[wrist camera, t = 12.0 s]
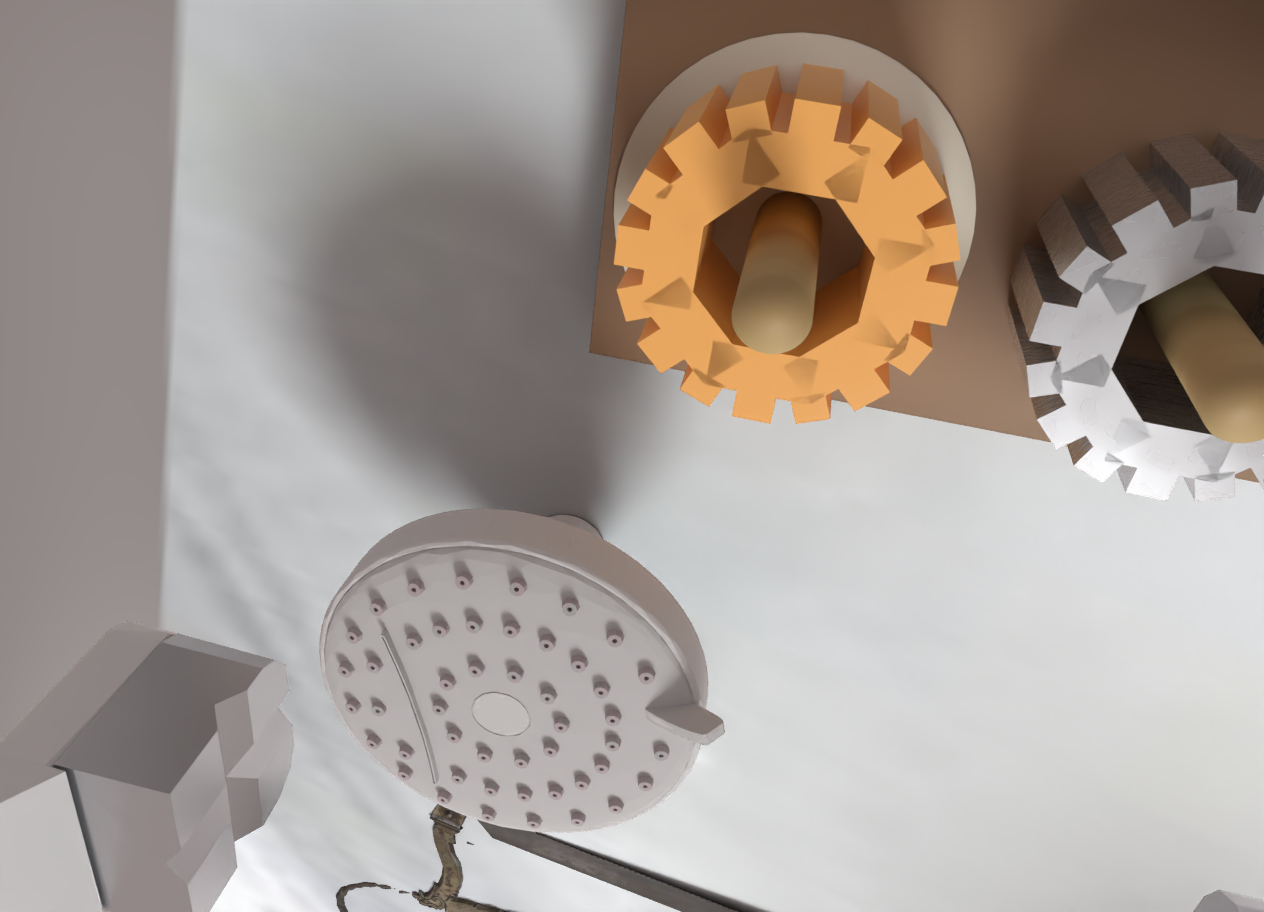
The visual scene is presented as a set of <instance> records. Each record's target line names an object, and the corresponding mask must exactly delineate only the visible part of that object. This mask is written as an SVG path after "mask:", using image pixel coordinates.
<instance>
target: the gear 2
mask: <svg viewBox="0 0 1264 912" xmlns="http://www.w3.org/2000/svg"><path fill="white" fill-rule="evenodd" d="M1149 143H1150V169H1148V170H1146V171H1145V172H1143V173H1141V174H1138V173H1137V172H1136V171H1135V169H1134V168H1133V167H1132V165H1131V164H1130V163H1129V161H1128V160H1127V159H1126V157H1125V156H1124V155H1123V154H1122V152H1120V153H1118V154H1117V155H1115V156H1113V157H1112V158H1110V159H1108V160H1106V161H1105V162H1103V163H1101V164H1100V165H1098V166H1096V167H1095V168H1093V169H1091V170H1089V171H1088V172H1086V173H1084V174H1083V175H1082V177H1083V179H1084V181H1085V182H1086V184H1087V186H1088V188H1089V189H1090V191H1091V193H1092V195H1093V196H1094V198H1095V200H1094V201H1092V202H1091V203H1089V204H1087V205H1085V206H1084V207H1082V208H1080V207H1079V206H1077V205H1076V204H1074V203H1073V202H1071V201H1070V200H1068V199H1067V198H1065V197H1064V196H1062V195H1061V194H1059V195H1058V197H1057V198H1056V199H1055V200H1054V201H1053V203H1052V204H1051V205H1050V206H1049V207H1048V208H1047V210H1046V211H1045V212H1044V213H1043V214H1042V215H1041V217H1040V218H1039V219H1038V220H1037V221H1036V224H1037V227H1038V229H1039V231H1040V234H1041V236H1042V239H1043V241H1044V243H1045V246H1046V248H1047V249H1045V248H1039V247H1033V246H1028V245H1022V247H1021V250H1020V253H1019V256H1018V259H1017V262H1016V264H1015V267H1014V270H1013V273H1012V276H1011V279H1010V282H1011V285H1012V288H1013V291H1014V294H1015V297H1016V300H1017V301H1016V302H1010V303H1008V309H1009V318H1010V328H1011V334H1012V338H1013V341H1014V345H1015V348H1016V352H1017V355H1018V359H1019V362H1020V365H1021V369H1022V372H1023V376H1024V379H1025V383H1026V386H1027V390H1028V393H1029V397H1030V398H1031V401H1032V404H1033V408H1034V411H1035V415H1036V418H1037V421H1038V422H1039V424H1040V425H1041V427H1042V428H1043V430H1044V431H1045V433H1046V434H1047V436H1048V437H1049V439H1050V440H1051V442H1052V443H1053V445H1054V447H1055V448H1056V449H1059V448H1061V447H1063V446H1065V445H1067V446H1068V449H1069V452H1070V455H1071V458H1072V461H1073V465H1074V466H1076V467H1077V468H1079V469H1080V470H1082V471H1084V472H1085V473H1087V474H1088V475H1090V476H1092V477H1093V478H1095V479H1096V480H1098V481H1100V482H1101V483H1103V482H1104V481H1105V480H1106V479H1107V478H1108V477H1109V476H1110V475H1111V474H1112V473H1113V472H1114V471H1115V470H1117V471H1118V474H1119V477H1120V479H1121V482H1122V484H1123V487H1124V489H1125V492H1126V493H1131V494H1136V495H1141V496H1146V497H1151V498H1156V499H1161V500H1166V501H1167V499H1168V497H1169V495H1170V493H1171V491H1172V489H1173V487H1174V485H1175V483H1176V481H1177V479H1178V477H1179V476H1182V477H1184V479H1185V481H1186V484H1187V486H1188V488H1189V490H1190V492H1191V494H1192V496H1193V498H1194V500H1195V501H1203V500H1212V499H1221V498H1230V497H1235V474H1237V473H1239V472H1241V471H1244V470H1246V469H1249V468H1251V469H1252V471H1253V472H1254V474H1255V476H1256V477H1257V479H1258V481H1259V482H1260V484H1261V486H1262V487H1263V489H1264V439H1262V440H1259V441H1255V442H1250V443H1231V442H1227V441H1224V440H1221V439H1219V438H1217V437H1215V436H1214V435H1213V434H1211V433H1210V432H1209V431H1208V429H1207V428H1206V426H1205V425H1204V423H1203V421H1202V419H1201V417H1200V416H1199V414H1198V412H1197V410H1196V408H1195V407H1194V405H1193V403H1192V401H1191V400H1190V398H1189V396H1188V394H1187V392H1186V391H1185V389H1184V387H1183V385H1182V383H1181V382H1180V380H1179V378H1178V376H1177V375H1176V373H1175V371H1174V369H1173V367H1172V366H1171V364H1167V363H1162V362H1156V361H1151V360H1146V359H1140V358H1135V357H1129V356H1124V355H1119V354H1118V352H1119V350H1120V348H1121V345H1122V343H1123V341H1124V338H1125V336H1126V333H1127V331H1128V329H1129V326H1130V324H1131V322H1132V319H1133V317H1134V314H1135V312H1136V310H1137V307H1138V305H1139V304H1141V303H1143V302H1145V301H1147V300H1149V299H1151V298H1153V297H1155V296H1157V295H1159V294H1160V293H1162V292H1164V291H1166V290H1168V289H1170V288H1172V287H1174V286H1176V285H1178V284H1180V283H1182V282H1184V281H1186V280H1188V279H1189V278H1191V277H1193V276H1195V275H1197V274H1199V273H1201V272H1203V271H1205V270H1207V269H1209V268H1211V267H1213V266H1218V267H1224V268H1230V269H1235V270H1241V271H1247V272H1252V273H1258V274H1264V140H1263V139H1260V138H1254V137H1248V136H1241V135H1235V134H1229V133H1223V132H1219V133H1218V136H1217V138H1216V140H1215V143H1214V145H1213V147H1212V150H1211V152H1210V153H1209V152H1208V151H1207V150H1206V149H1205V148H1204V147H1203V146H1202V145H1201V144H1200V143H1199V142H1198V141H1197V140H1196V139H1195V138H1194V137H1193V136H1192V135H1191V134H1190V133H1188V134H1183V135H1178V136H1173V137H1169V138H1164V139H1159V140H1154V141H1149ZM1245 322H1246V324H1247V325H1248V326H1249V328H1250V329H1251V330H1252V332H1253V333H1254V334H1255V336H1256V337H1257V338H1258V340H1259V341H1260V342H1261V344H1262V345H1263V346H1264V283H1263V286H1262V288H1261V290H1260V292H1259V294H1258V296H1257V298H1256V300H1255V302H1254V304H1253V306H1252V308H1251V310H1250V312H1249V314H1248V316H1247V318H1246V320H1245Z"/></svg>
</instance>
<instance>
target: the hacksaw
mask: <svg viewBox="0 0 1264 912" xmlns="http://www.w3.org/2000/svg"><path fill="white" fill-rule="evenodd" d="M465 818H466V816H465V815H462V814H460V813H457V812H455V811H453V810H450V809H448V808H445V807H443V806H441V805H439V804H438V805H437V807H436V808H435V810H434V812H433V814H432V815H431V816H430V819H432V820H434V821H435V822H436V823H434V826H435V827H434V829H433V836H434V841H435V845H436V848H437V851H438V853H439V856H440V859H441V862H442V865H443V870H442V876H441V878H440V880H439V882H438V883H436V882H435V884H434V887H433V888H432V889H431V891H430V892H426V893H424V892H423V891H422V890H420V891H419V894H418V893H417V892H413V893H412V896H413V897H414V898H415V899H417V898H418V899H417V900H418V901H419V903H420V904H422V905H424V906H428V907H429V908H435V909H440V910H441V909H443V908H445V912H506V911H503V910H500V909H497V908H493V907H489V906H485V905H481V904H479V903H476V904H475V903H474V902H471V901H468V900H463V899H458V898H457V896H458V893H459V890H460V888H461V886H462V882H463V873H462V867H461V863H460V861H459V859H458V858H457V856H456V854H455V850H454V847H453V844H456V841H455V835H454V834H457V833H459V832H460V830H461V829H463V828H462V827H461V826H462V824H463V822H464V820H465ZM478 821H479V823H480V824H481V825H482V826H483V827H484V828H485V830H486V831H487V832H488V833H489V834H490V835H491V837H492V838H494V839H497V840H499V841H502V842H505V843H507V844H510V845H512V846H515V847H517V848H520V849H523V850H525V851H528V852H530V853H533V854H535V855H538V856H540V857H543V858H546V859H548V860H551V861H553V862H556V863H558V864H561V865H564V866H566V867H569V868H571V869H574V870H576V871H579V872H581V873H584V874H587V875H589V876H592V877H594V878H597V879H599V880H602V881H605V882H607V883H610V884H612V885H615V886H617V887H620V888H622V889H625V890H628V891H630V892H633V893H635V894H638V895H640V896H643V897H646V898H648V899H651V900H653V901H656V902H658V903H661V904H663V905H666V906H669V907H671V908H674V909H676V910H679V911H681V912H738V911H734V910H733V909H730V908H727V907H725V906H722V905H720V904H717V903H714V902H711V901H710V900H706V899H705V898H701V897H700V896H696V895H694V894H691V893H689V892H686V891H684V890H681V889H678V888H676V887H673V886H671V885H668V884H666V883H663V882H661V881H657V880H656V879H653V878H651V877H648V876H645V875H642V874H640V873H638V872H635V871H633V870H629V869H628V868H624V867H623V866H619V865H617V864H613V863H612V862H608V861H607V860H604V859H602V858H599V857H596V856H592V855H591V854H589V853H586V852H584V851H580V850H579V849H576V848H574V847H570V846H568V845H564V844H563V843H559V842H558V841H554V840H552V839H550V838H548V837H546V836H542V835H540V834H537V833H535V832H531V831H526V830H520V829H513V828H507V827H501V826H497V825H494V824H490V823H487V822H483V821H480V820H478ZM467 844H471V843H469V842H467ZM472 845H474V844H472ZM365 886H366V887H375V886H378V887H380V888H382V889H391V887H390V886H387V885H378V884H376V883H368V882H363V883H358V884H351V885H348V886H344V887H341V889H340V890H339V892H338V893H337V895H336V898H337V906H338V908H339V910H340V912H348V910H347V909H346V906H345V902H344V896H346V895H347V892H348V890H353V889H355V888H356V887H357V888H362V887H365ZM394 889H395V888H394ZM399 893H409V892H405V891H399Z"/></svg>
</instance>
